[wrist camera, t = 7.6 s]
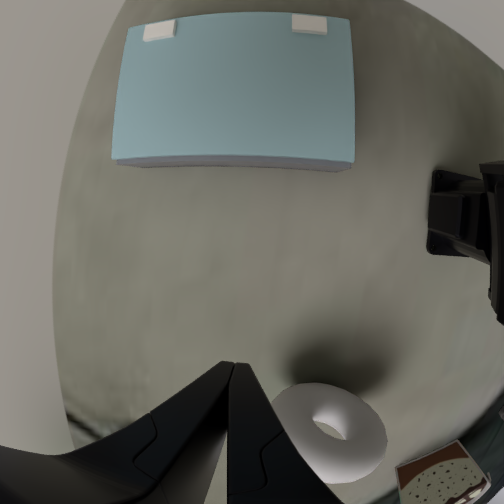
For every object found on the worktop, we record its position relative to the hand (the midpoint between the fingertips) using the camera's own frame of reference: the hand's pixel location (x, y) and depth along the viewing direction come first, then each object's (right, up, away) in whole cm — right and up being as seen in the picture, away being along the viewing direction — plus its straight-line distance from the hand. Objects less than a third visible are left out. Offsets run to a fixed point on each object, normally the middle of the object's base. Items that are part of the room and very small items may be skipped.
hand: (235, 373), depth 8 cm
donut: (+7, -8, +15) cm, 18 cm away
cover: (-1, +14, +6) cm, 15 cm away
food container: (+24, -25, +17) cm, 39 cm away
